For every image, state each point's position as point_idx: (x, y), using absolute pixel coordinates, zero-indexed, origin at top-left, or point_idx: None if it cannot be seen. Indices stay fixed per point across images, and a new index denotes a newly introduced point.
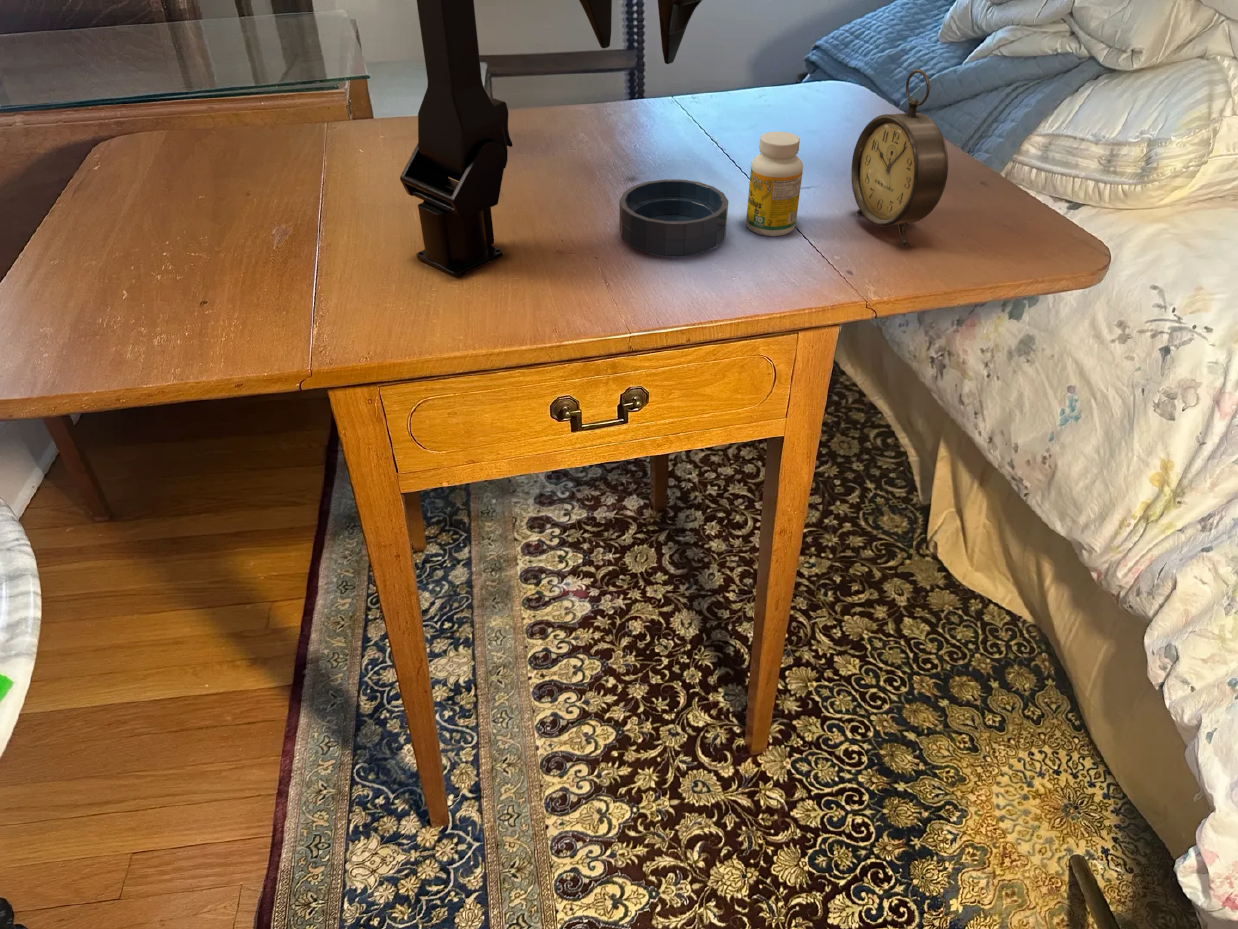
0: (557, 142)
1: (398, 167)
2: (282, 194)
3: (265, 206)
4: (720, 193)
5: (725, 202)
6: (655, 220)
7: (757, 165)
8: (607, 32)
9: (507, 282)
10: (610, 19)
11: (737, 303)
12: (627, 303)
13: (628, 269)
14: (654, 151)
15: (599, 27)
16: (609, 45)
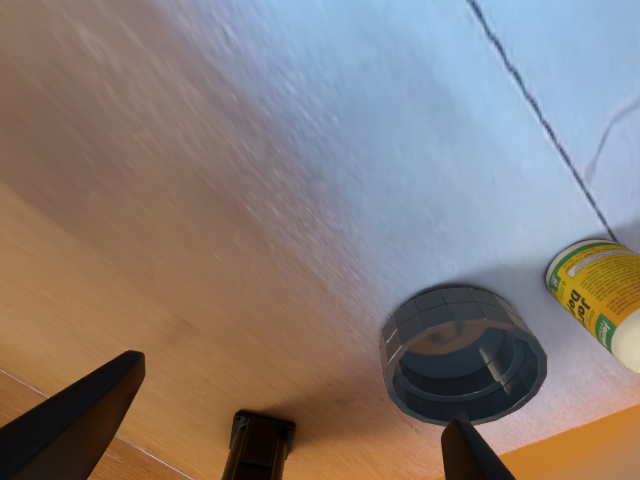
0: (83, 107)
1: (10, 309)
2: (6, 400)
3: None
4: (530, 340)
5: (543, 362)
6: None
7: (633, 370)
8: (107, 411)
9: (328, 448)
10: (54, 447)
11: (550, 420)
12: None
13: None
14: (281, 46)
15: (87, 472)
16: (141, 354)
